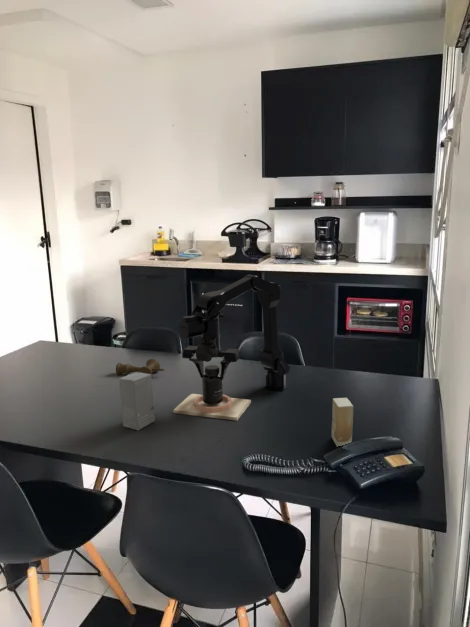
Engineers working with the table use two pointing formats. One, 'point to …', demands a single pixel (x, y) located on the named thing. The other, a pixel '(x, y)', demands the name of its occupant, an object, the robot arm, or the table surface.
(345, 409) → the skincare box
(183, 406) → the birch board
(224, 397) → the ring collar
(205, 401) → the supplement bottle
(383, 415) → the table surface
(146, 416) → the skincare box
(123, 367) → the kendama
